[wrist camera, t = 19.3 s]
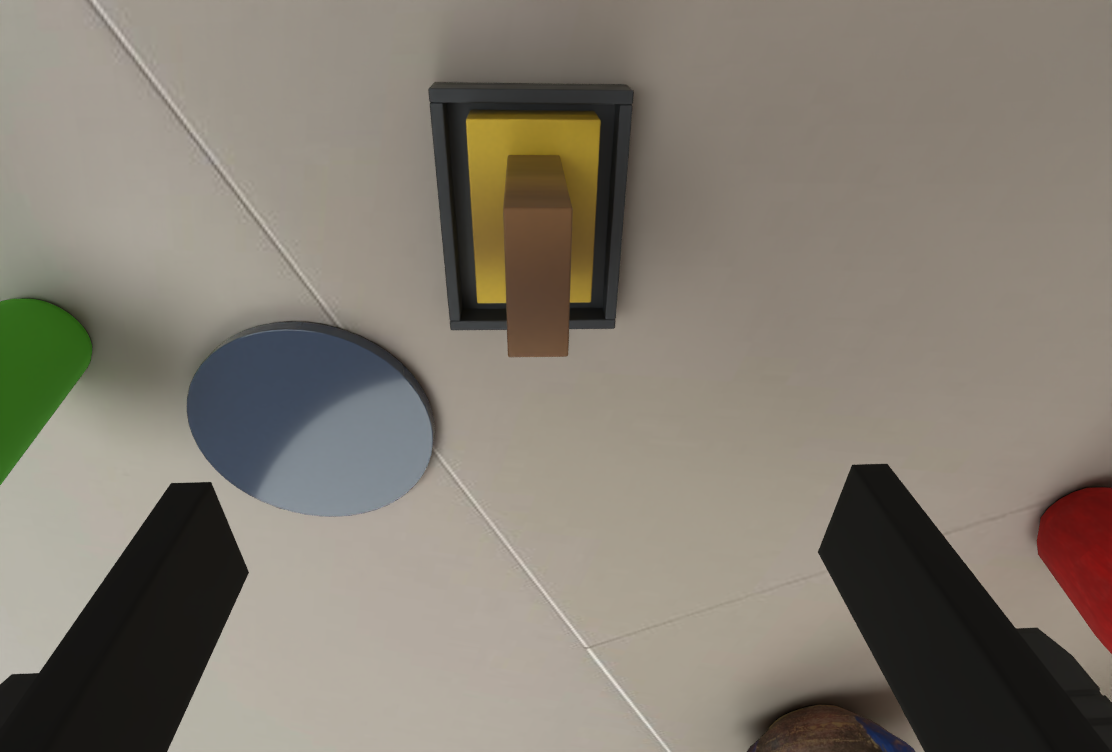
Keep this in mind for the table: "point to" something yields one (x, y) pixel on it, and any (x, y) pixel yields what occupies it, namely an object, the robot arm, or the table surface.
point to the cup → (35, 370)
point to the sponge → (534, 219)
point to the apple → (1082, 554)
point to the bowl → (827, 733)
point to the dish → (455, 197)
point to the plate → (311, 419)
